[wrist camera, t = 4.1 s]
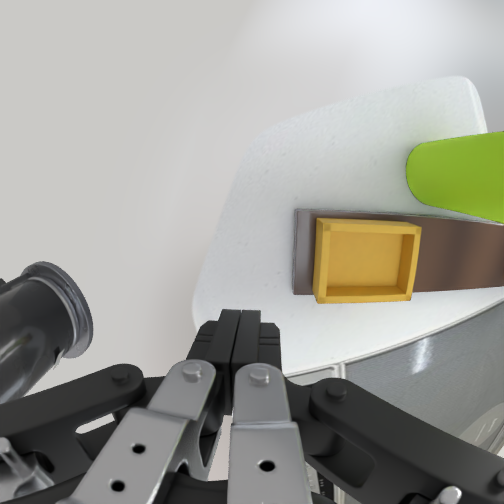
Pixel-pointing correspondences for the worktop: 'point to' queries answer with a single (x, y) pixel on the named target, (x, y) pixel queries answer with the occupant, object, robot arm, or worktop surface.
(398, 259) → the tray
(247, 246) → the worktop surface
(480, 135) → the soap dispenser
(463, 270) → the board
